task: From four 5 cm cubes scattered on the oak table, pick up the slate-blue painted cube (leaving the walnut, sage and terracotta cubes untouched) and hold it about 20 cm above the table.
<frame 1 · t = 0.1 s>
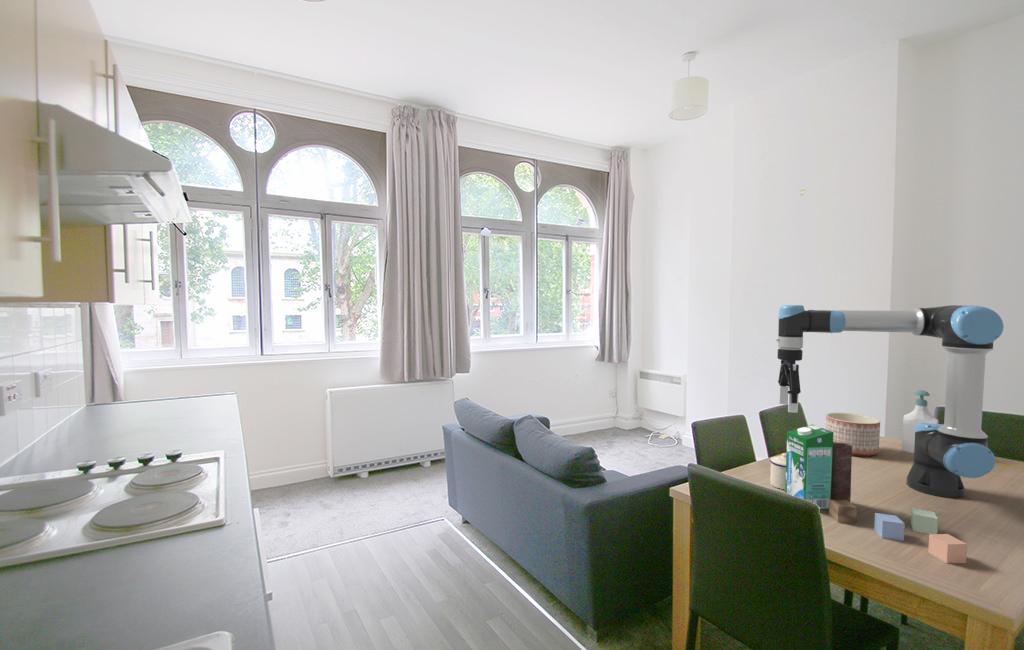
hand: (787, 408, 163), 28 cm above the table, fingers open, 13 cm apart
walnut cube: (842, 519, 139), on the table
sage cube: (923, 530, 133), on the table
milk carton: (807, 504, 150), on the table
slate blue cube: (888, 535, 130), on the table
terracotta cube: (946, 558, 118), on the table
soap bottle: (919, 452, 202), on the table
planter: (851, 451, 204), on the table
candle: (836, 504, 150), on the table
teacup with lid: (785, 485, 165), on the table
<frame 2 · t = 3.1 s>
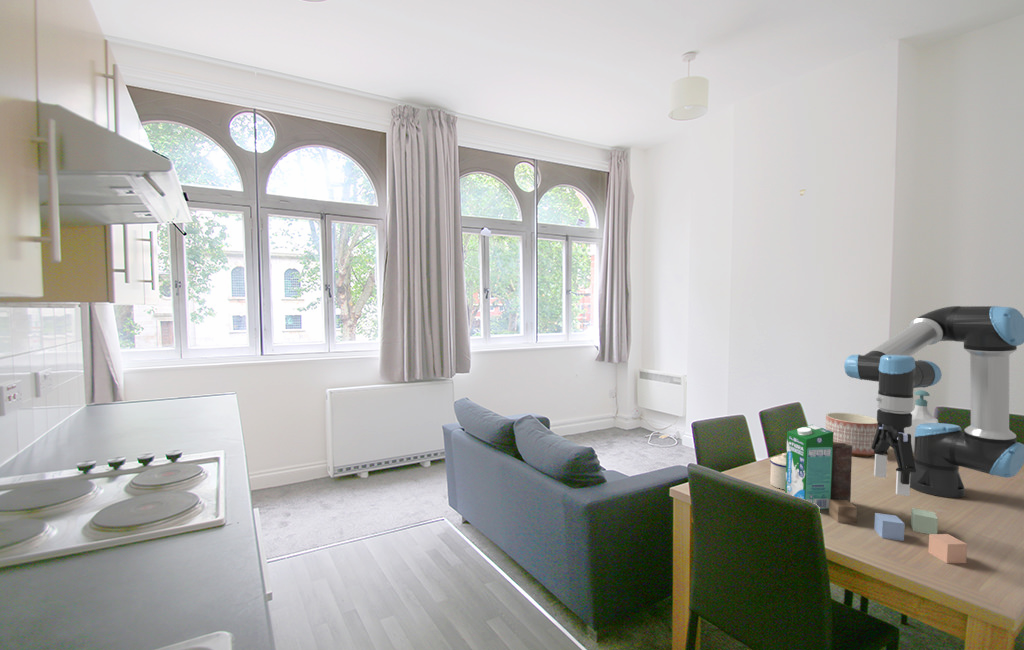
hand: (890, 485, 129), 14 cm above the table, fingers open, 13 cm apart
nothing on the table moved.
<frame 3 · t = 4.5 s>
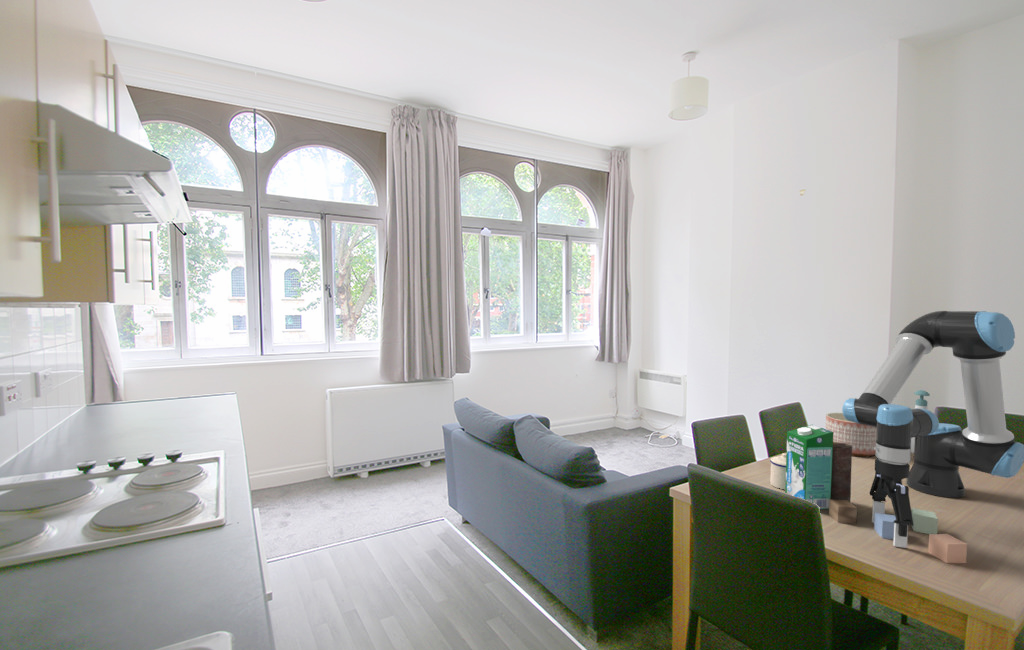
hand: (888, 534, 130), 0 cm above the table, fingers open, 13 cm apart
nothing on the table moved.
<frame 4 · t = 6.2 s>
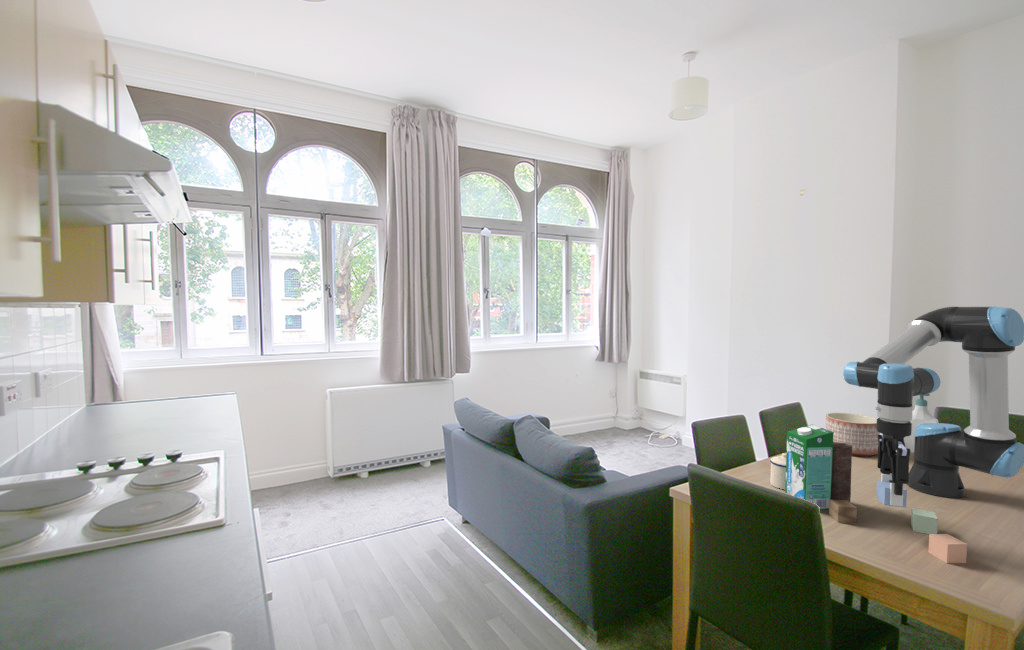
hand: (891, 500, 129), 10 cm above the table, fingers closed on slate blue cube, 5 cm apart
slate blue cube: (891, 502, 130), point 9 cm above the table, touching gripper
everything else where it was.
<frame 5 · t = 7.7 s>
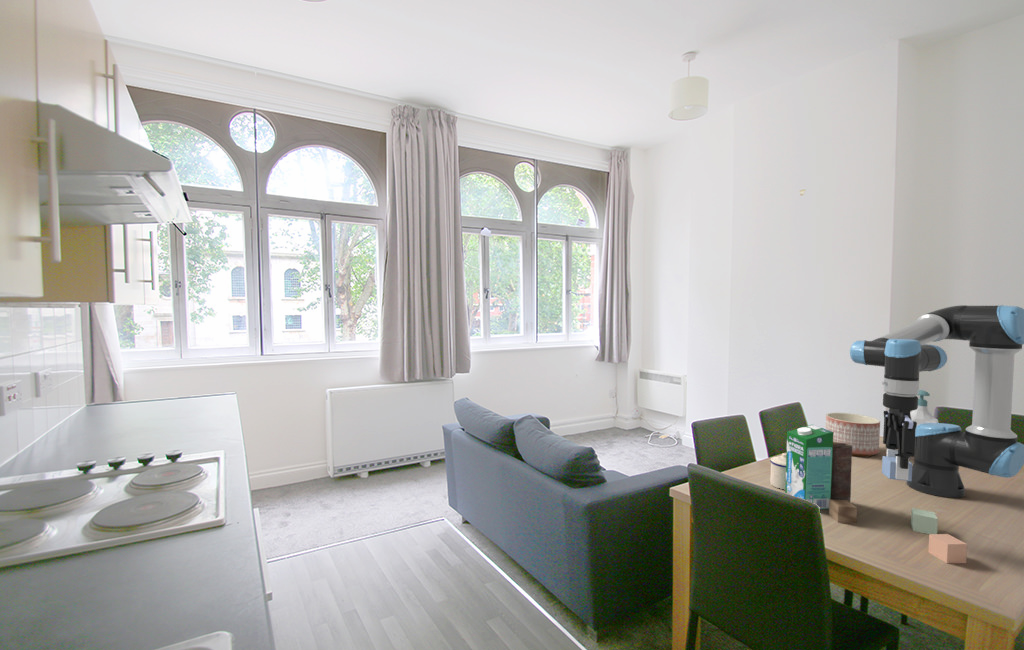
hand: (896, 475, 130), 17 cm above the table, fingers closed on slate blue cube, 5 cm apart
slate blue cube: (896, 476, 130), point 16 cm above the table, touching gripper
everything else where it was.
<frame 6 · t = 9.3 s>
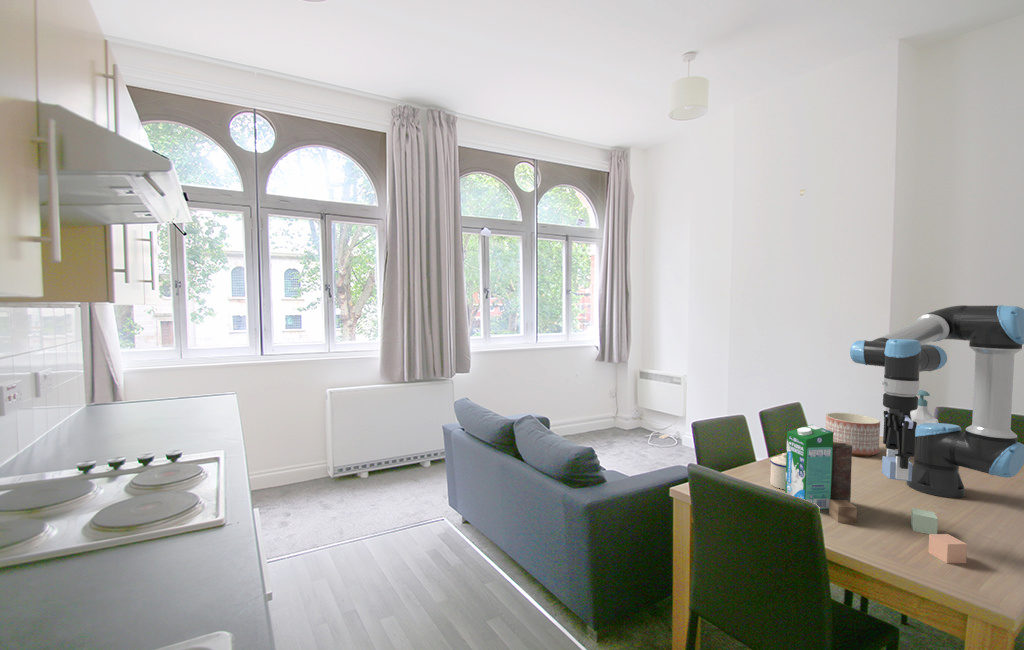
hand: (896, 475, 130), 17 cm above the table, fingers closed on slate blue cube, 5 cm apart
slate blue cube: (896, 476, 130), point 16 cm above the table, touching gripper
everything else where it was.
at the end: the gripper is holding slate blue cube; slate blue cube point 16.2 cm above the table; walnut cube moved 0.1 cm from its start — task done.
